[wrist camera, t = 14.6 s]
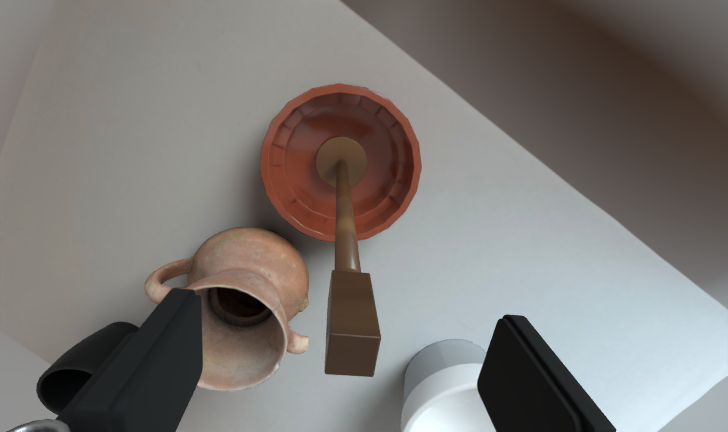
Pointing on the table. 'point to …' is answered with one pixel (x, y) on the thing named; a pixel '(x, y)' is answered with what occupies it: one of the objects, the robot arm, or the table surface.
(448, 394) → the bowl
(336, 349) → the wooden dowel plunger
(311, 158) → the mixing bowl
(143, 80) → the table surface
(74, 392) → the mug
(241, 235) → the ceramic jug
